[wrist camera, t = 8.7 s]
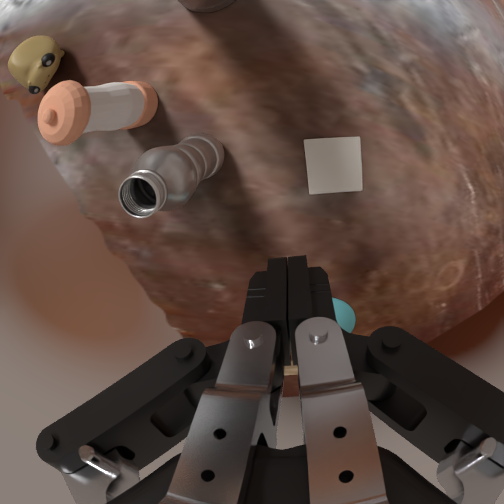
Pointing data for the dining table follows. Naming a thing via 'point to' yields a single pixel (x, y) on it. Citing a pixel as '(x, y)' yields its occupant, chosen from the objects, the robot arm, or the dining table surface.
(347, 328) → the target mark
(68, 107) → the pepper shaker
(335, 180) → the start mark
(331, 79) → the dining table surface
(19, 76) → the yellow plush toy
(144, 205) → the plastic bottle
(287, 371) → the bar
